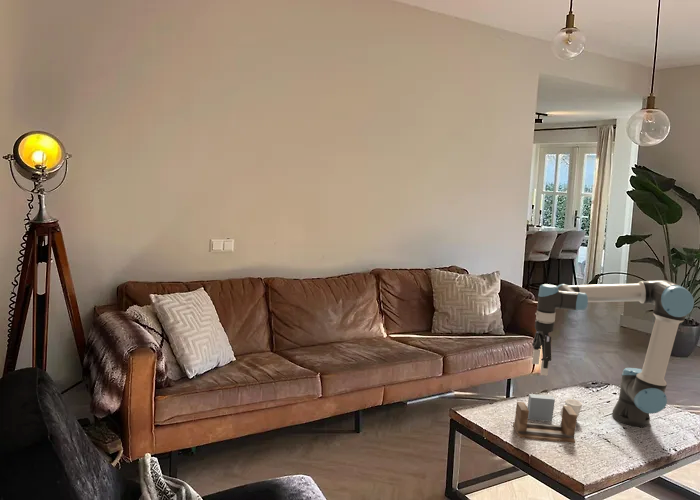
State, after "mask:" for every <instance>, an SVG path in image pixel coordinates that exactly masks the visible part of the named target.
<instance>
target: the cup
mask: <svg viewBox="0 0 700 500" xmlns="http://www.w3.org/2000/svg"><path fill="white" fill-rule="evenodd" d="M564 403H565V405H563V406H571V407H572V409H573V410H574V412H575V413H576V414H577V419H578V418H579V415H580V413H581V409H582V406H583V403H582V402H581V401H579V400H576V399H571V398H568V399H565V400H564ZM563 406H562V407H561V409H560V417H561V418H562V413H563ZM577 421H578V420H576V422H577Z"/></svg>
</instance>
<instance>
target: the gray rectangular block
mask: <svg viewBox="0 0 700 500" xmlns="http://www.w3.org/2000/svg"><path fill="white" fill-rule="evenodd" d="M555 403H556V399H555V397H554V396H553V395H546V394H536V393H535V394H533V393H528V401H527V408H528V410H529V414H528V420H534V421H541V420H542V421H543V422H553V419H554V417H553V416H554V409H555Z"/></svg>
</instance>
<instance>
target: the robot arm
mask: <svg viewBox="0 0 700 500" xmlns="http://www.w3.org/2000/svg"><path fill="white" fill-rule="evenodd" d="M537 296H538V297H537V306H536V312H535V313H534V314H535V316H536V317H535V323H534V329H535V335H534V337H533V341H532V349H533V351H532V360H531V365H540V361H541V366H540V376H547V377H548V375H549V374H548V373H549V366H550V365H549V364H550V362H551V361H552V336H550V335H549V333H552V332H554V330H555V328H554V327H555V322H556V321H555V320H556V310H557V309H558V310H567V311H568V310H571V311H576V312H577V311H581V312H582V311H586V309H587V307H588V305H589V303H608V302H609V303H610V302H611V303H612V302H613V303H615V302H616V303H618V302H621V303H622V302H639V303H640V304H650V305H653V306H654V307H653V310H652V314H653V316H654V317H655V319H654V324H653V325H652V331H651V335H650V338H649V343H648V347H647V350H646V354H645V356H644V362H643V366H642V368H636V367H625V368H624V369H623V370H622V373H621V381H620V388H619V394H618V400H617V402H616V404H615V405H614V407H613V409H612V412H611V414H612V415H611V416H612V417H613V419H615V420H617V422H620V423H622V424H625V425H628V426H632V427H648V426H649V425H650V421H651V415H653V414H654V415H655V414H657V413H660V412H661V411H663V410H664V409H665V408H666V406H667V404H668V398H667V395H666V390H667V389H666V388H667V381H666V380H665V376H666V373H667V368H668V365H669V363H670V357H671V354H672V350H673V347H674V343H675V339H676V335H677V332H678V328H679V325H680V324H682V323H683V322H684V321H685V319H686V316H687V315H689V314H690V313H691V312H692V310H693V308H694V305H695V300H694V296H693V294H692V293H691V292H690V291H689V290H688V289H687V288H685V287H684V286H682V285H679V284H678V283H675V282H673V281H670V280H664V279H656V280H655V279H654V280H641V281H638V282H637V283H613V284H610V283H609V284H607V283H606V284H580V285H579V284H576V285H575V284H574V285H569V284H565V283H561V284H558V285H554V284H551V283H549V284H548V283H544V284H540V286H539V289H538V295H537ZM541 352H542V358H541V360H540V357H541Z"/></svg>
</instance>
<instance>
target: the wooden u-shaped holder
mask: <svg viewBox="0 0 700 500" xmlns="http://www.w3.org/2000/svg"><path fill="white" fill-rule="evenodd" d="M515 407H516V409H515V415H514V416H515V417H514V422H513V423H512V425H513V427H514V430H515V432H516V434H517V436H518V438H519V439H529V440H537V441H538V440H539V441H549V442H550V441H551V442H561V443H572V444H575V443H576V439H575V435H576V427H577V421H578V420H577V419H578V418H577V414H576V413H575V412H574V410H573V409H572V407H571V406H564V405H563V406H562V407H563V413H562V417H561V422H560V425H555V424H545V423H536V422H535V423H534V422H532V423H531V422H528V421H529V419H528V414H529V410H528V408H527V407H528V405H526V403H525V402H524V401H516V405H515ZM576 420H577V421H576Z"/></svg>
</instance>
